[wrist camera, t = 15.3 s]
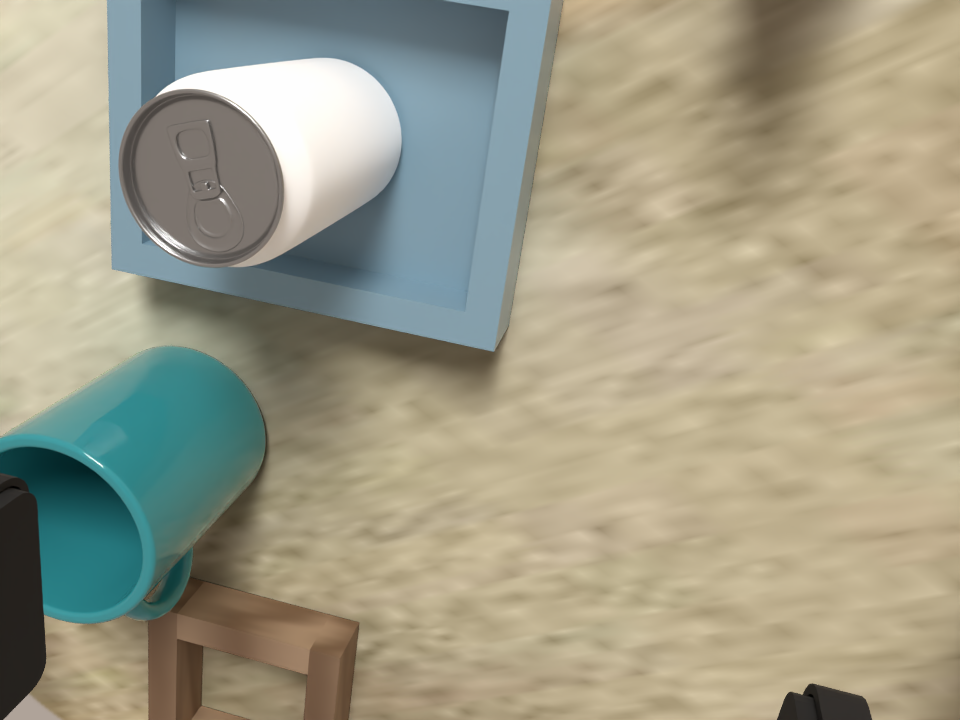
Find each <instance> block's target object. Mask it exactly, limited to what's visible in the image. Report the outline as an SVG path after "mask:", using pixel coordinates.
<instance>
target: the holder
mask: <svg viewBox="0 0 960 720" xmlns="http://www.w3.org/2000/svg"><path fill="white" fill-rule="evenodd" d="M358 630H359V622H355V621H351V620H348V619H344V618H340V617H336V616H333V615H329V614H325V613H321V612H318V611H314V610H310V609H306V608H303V607H299V606H295V605H291V604H288V603H284V602H280V601H276V600H273V599H269V598H265V597H261V596H258V595H254V594H250V593H246V592H243V591H239V590H235V589H231V588H227V587H224V586H220V585H216V584H212V583H209V582H205V581H201V580H197V579H194V578H190V577H189V580H188V583H187V586H186V588H185V590H184V592H183V594H182V596H181V598H180V599H179V601H178V602H177V604H176V605H175V606H174V607H173V608H172V610H170V611H169V612H168V613H167V614H165V615H164V616H162V617H160V618H157V619H155V620H150V621H148V685H149V720H249V719H246V718H242V717H239V716H235V715H232V714H228V713H225V712H221V711H218V710H214V709H211V708H207V707H204V706H201V692H202V657H203V646H205V647H209V648H212V649H216V650H220V651H223V652H227V653H230V654H234V655H238V656H241V657H245V658H248V659H252V660H256V661H259V662H263V663H266V664H270V665H274V666H277V667H281V668H284V669H288V670H292V671H295V672H299V673H303V674H306V675H307V687H306V698H305V710H304V720H348V718H349V709H350V700H351V691H352V683H353V674H354V665H355V656H356V647H357V639H358Z"/></svg>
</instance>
